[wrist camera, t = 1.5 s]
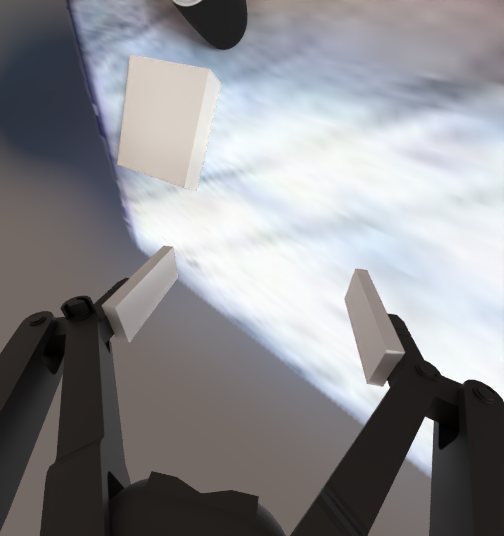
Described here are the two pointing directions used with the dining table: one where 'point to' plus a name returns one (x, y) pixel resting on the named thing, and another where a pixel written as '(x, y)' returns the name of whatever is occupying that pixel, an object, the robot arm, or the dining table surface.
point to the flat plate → (167, 120)
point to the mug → (216, 19)
